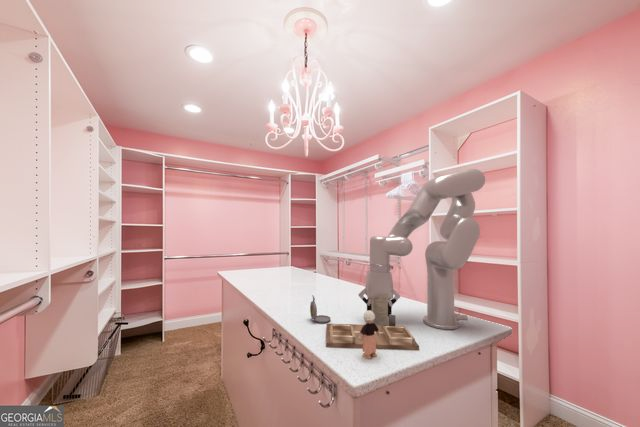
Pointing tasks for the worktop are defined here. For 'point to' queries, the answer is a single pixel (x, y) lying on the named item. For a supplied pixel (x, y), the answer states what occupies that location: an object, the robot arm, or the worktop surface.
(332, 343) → the board
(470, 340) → the worktop surface
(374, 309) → the skincare box
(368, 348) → the grandmother figurine
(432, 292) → the robot arm
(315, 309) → the pocket watch
